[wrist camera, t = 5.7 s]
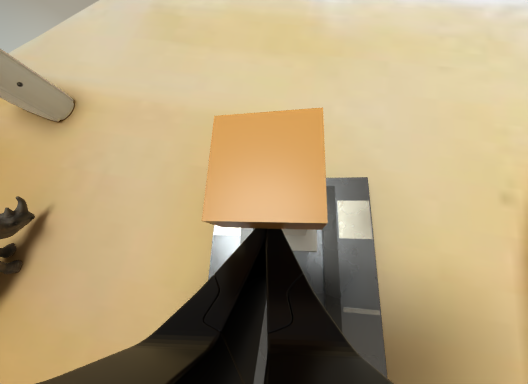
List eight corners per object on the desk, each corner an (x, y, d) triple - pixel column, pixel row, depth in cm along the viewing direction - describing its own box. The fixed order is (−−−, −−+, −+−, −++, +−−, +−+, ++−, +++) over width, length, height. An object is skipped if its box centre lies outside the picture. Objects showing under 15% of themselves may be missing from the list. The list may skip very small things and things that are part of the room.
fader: (316, 251, 16) (345, 251, 5) (260, 249, 17) (186, 244, 6) (314, 189, 17) (335, 87, 7) (262, 189, 18) (205, 99, 7)
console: (395, 531, 12) (414, 587, 10) (194, 479, 15) (176, 517, 13) (363, 181, 18) (371, 173, 16) (223, 184, 21) (214, 176, 19)
